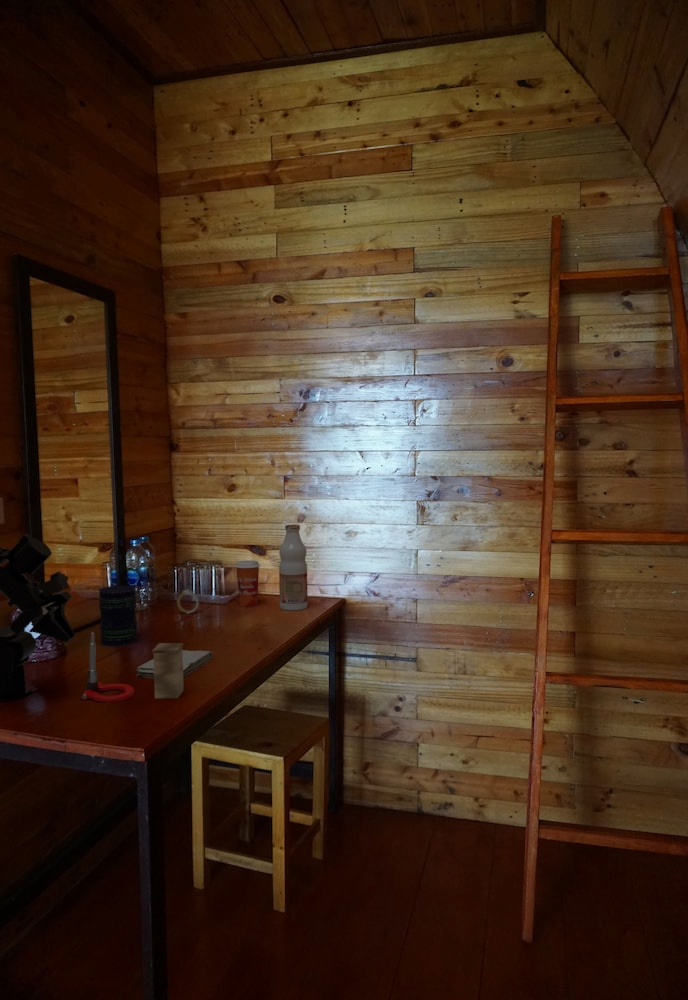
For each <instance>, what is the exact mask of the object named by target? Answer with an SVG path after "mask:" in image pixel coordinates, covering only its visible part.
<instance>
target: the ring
mask: <svg viewBox="0 0 688 1000" xmlns="http://www.w3.org/2000/svg"><path fill="white" fill-rule="evenodd" d="M186 595H191V596H193V597H194V599H195V606H194V608H193V609H188V610H186V609H184V608H183V607H182V606H181V599H182V597H183V596H186ZM199 604H200V599H199V596H198V595H197V594H196V593H194V592H193V590H192V589H189V588H186V589H182V590H181V593H180V594H179V595H178V597H177V599H176V605H177V608H178V609H179V611H180V612H182V613H185V614H190V613H193V612H195V611H196V610H197V609H198V607H199Z"/></svg>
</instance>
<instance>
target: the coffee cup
mask: <svg viewBox="0 0 688 1000" xmlns="http://www.w3.org/2000/svg"><path fill="white" fill-rule="evenodd" d="M260 567H261V564H260V563H259V561H257V560H253V559H249V560H239V561H237V563H236V565H235V568H236V578H237V588H238V589H237V591H238V601H239V607H243V608H252V607H257V606H258V599H259V598H258V597H259V596H258V595H259V576H260V575H259V573H260V570H259V569H260Z"/></svg>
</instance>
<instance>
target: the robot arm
mask: <svg viewBox="0 0 688 1000" xmlns="http://www.w3.org/2000/svg"><path fill="white" fill-rule="evenodd" d="M51 556H52V550H51V548H50V547H49V546H48V545H47V544H46V543H45V542H42V541H41V540H39V539H37V538H34V537H32V536H31V535H30V534H26V535H22V537H21V538H20V539H19V541H18V542H17V544H16V545H15V546H14V547H13V548H12V549H11V548H2V547H1V546H0V593H1V594H2V595H3V596H4V597H5V598H6V599H8V601H9V602H7V605H8V606H9V607H10V608H12V607H14V606H15V607H16V608H17V609H18V610H19V611H20V613H19V614H18V615H17V616H16V617H15V618H14V620H12V621H11V623H10V626H8V625H5V626H4V627H2V628H0V701H1V702H5V703H6V702H9V701H12V700H15V699H18V698H20V697H23V696H27V695H29V694H32V692H33V691H32V689H28V688H26V675H25V674H26V673H25V666H24V664H25V663H27V662H29V661H30V657H31V655H32V654H33V653H34V652H35V650H36V648H37V642H36V638H35V637H34V636H33V634H32V633H35V634H40V635H43V636H47V637H49V638H53V639H56V640H60V641H62V642H65V643H66V642H69V641H70V640H71V639H73V638H74V637H75V636H76V634H75V632H74V630H73V628H72V626H71V625H70V623H69V620H68V619H67V617H66V615H65V608H66V605H67V603H68V602H69V601H70V600H71V599H72V598H73V596H72V595H71V594H70V593H69V592H68V591H67V590H65V589H67V588H70V584H69V582H68V580H69V576H68V575H66V574H65V573H62V572H61V571H57V572H55V573H52V574H50V577H49V580H47V581H45V582H43V583H41V582H40V581H38V580H33V581H32V580H30V579H29V578H28V577H27V576H26V575H27V574H28V575H31V574H35V572H36V571H37V570H38V569H39V568H40V567H41V566H42V565H43V564H44V563H45V562H46V561H47V560H48V558H50V557H51ZM6 562H7V563H6ZM4 563H6V564H5V565H3V564H4ZM2 565H3V566H2ZM29 625H31V626H32V627H31V628H30V629H29V631H27V630H26V628H27V627H28V626H29Z"/></svg>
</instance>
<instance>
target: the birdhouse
mask: <svg viewBox="0 0 688 1000" xmlns="http://www.w3.org/2000/svg"><path fill="white" fill-rule="evenodd" d="M183 647H184V643H183V642H174V643H172V642H169V643H167V642H165V643H164V642H161V643H160V642H159V643H158V644H156V646H155V647H154V648H153V649H152V651H151V653H152V654H153V659H154V678H153V680H154V683H153V684H154V686H153V687H154V699H179V698H180V696H181V695H182V693H183V692H184V677H183V651H182V650H183Z"/></svg>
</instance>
